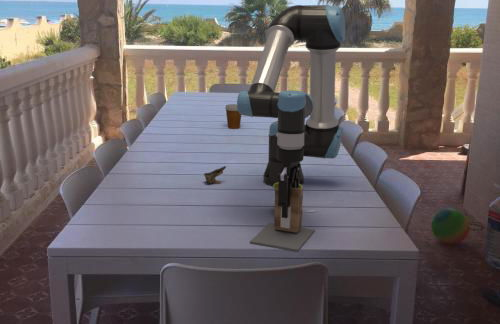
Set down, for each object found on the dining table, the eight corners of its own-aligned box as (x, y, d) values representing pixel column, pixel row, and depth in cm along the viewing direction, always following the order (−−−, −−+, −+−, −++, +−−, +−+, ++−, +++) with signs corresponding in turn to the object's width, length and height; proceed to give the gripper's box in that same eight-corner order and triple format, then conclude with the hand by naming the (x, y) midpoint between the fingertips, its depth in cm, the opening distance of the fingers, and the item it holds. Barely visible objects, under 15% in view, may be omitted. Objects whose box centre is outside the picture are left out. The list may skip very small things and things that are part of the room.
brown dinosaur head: (224, 183, 223) (225, 165, 222) (225, 185, 216) (227, 167, 216) (202, 181, 222) (204, 163, 221) (203, 184, 215) (205, 165, 215)
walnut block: (278, 224, 175) (279, 185, 172) (301, 227, 173) (302, 188, 170) (274, 228, 172) (275, 189, 169) (297, 232, 169) (298, 192, 166)
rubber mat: (269, 224, 179) (270, 222, 178) (314, 231, 174) (314, 229, 173) (249, 243, 164) (249, 241, 164) (297, 251, 159) (298, 249, 159)
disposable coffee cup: (223, 126, 320) (223, 104, 317) (239, 125, 323) (240, 103, 320) (227, 130, 311) (227, 107, 308) (245, 129, 314) (245, 106, 311)
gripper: (287, 139, 175) (285, 213, 181) (267, 151, 160) (265, 232, 166) (312, 141, 172) (308, 217, 178) (293, 154, 157) (290, 237, 163)
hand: (287, 224), depth 172 cm, fingers closed on walnut block, 4 cm apart
